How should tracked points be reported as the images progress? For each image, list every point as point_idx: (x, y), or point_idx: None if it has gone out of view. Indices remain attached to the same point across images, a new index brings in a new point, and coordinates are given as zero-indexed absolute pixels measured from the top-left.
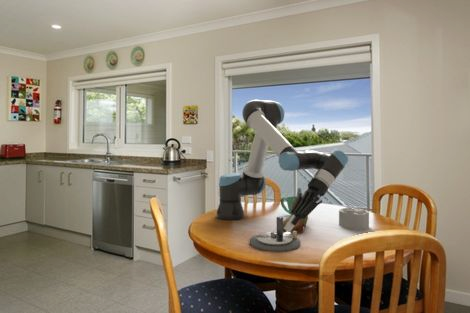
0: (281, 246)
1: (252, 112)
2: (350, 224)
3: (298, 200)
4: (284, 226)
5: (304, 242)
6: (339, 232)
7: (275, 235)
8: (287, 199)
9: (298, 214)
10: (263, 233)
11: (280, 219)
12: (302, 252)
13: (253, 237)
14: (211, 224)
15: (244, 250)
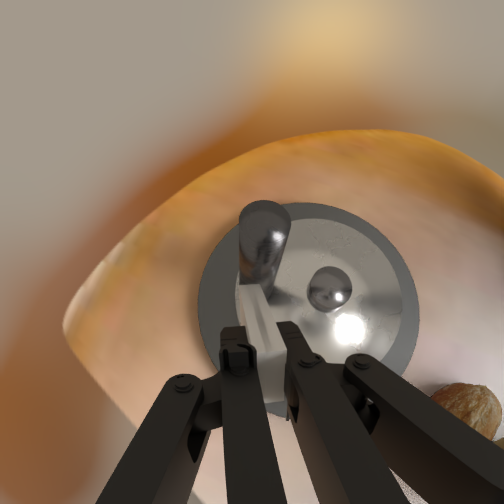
0: (230, 294)
1: None
2: None
3: (462, 462)
4: (260, 289)
5: (287, 441)
6: None
7: (309, 285)
8: None
9: (221, 381)
10: (381, 263)
11: (239, 221)
12: (163, 364)
13: (372, 233)
14: (486, 188)
15: (263, 179)
